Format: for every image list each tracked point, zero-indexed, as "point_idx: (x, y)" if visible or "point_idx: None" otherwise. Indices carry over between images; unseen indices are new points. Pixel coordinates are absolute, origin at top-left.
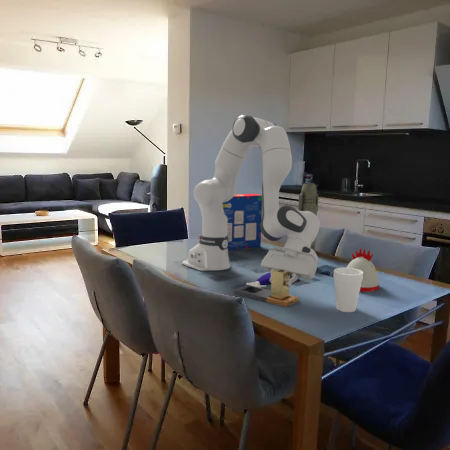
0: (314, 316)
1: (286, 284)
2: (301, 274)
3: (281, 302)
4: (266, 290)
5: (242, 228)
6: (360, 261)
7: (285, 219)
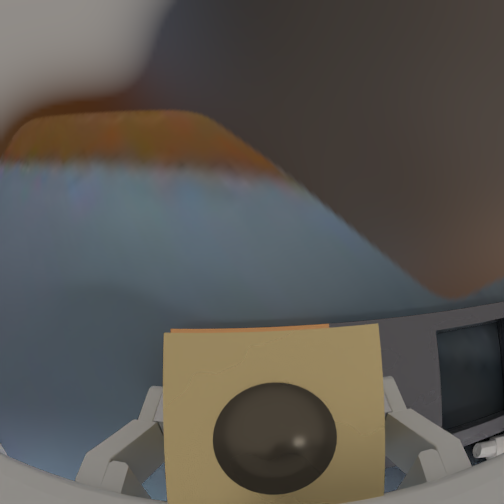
0: (30, 307)
1: None
2: (13, 460)
3: (207, 329)
4: None
5: None
6: None
7: None
